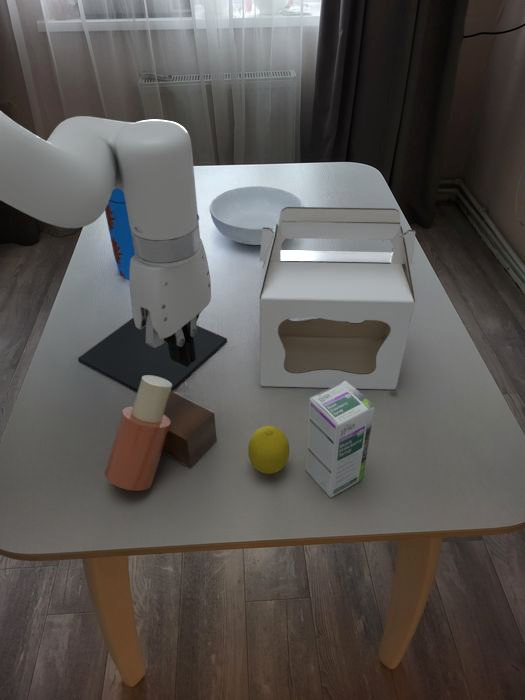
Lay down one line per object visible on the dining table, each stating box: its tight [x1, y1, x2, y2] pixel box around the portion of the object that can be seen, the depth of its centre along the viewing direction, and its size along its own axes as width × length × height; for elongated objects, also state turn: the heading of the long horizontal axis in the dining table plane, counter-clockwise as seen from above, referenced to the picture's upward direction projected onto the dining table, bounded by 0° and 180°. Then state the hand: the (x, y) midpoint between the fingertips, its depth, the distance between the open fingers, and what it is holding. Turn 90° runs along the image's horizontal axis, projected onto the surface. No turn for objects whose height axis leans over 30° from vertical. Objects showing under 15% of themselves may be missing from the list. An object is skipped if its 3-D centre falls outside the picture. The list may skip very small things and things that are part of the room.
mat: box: [77, 317, 228, 393], centre depth 96 cm, size 18×18×1 cm
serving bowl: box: [209, 185, 305, 246], centre depth 125 cm, size 21×21×7 cm
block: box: [162, 391, 218, 469], centre depth 79 cm, size 10×6×6 cm, turn 57°
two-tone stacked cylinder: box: [104, 375, 172, 491], centre depth 73 cm, size 6×12×14 cm, turn 147°
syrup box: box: [305, 381, 375, 498], centre depth 72 cm, size 6×6×14 cm
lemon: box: [247, 425, 290, 475], centre depth 75 cm, size 6×6×8 cm
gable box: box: [258, 206, 417, 390], centre depth 85 cm, size 22×13×28 cm, turn 88°
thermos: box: [104, 188, 135, 281], centre depth 108 cm, size 11×11×25 cm
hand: (183, 359), depth 75 cm, fingers closed
